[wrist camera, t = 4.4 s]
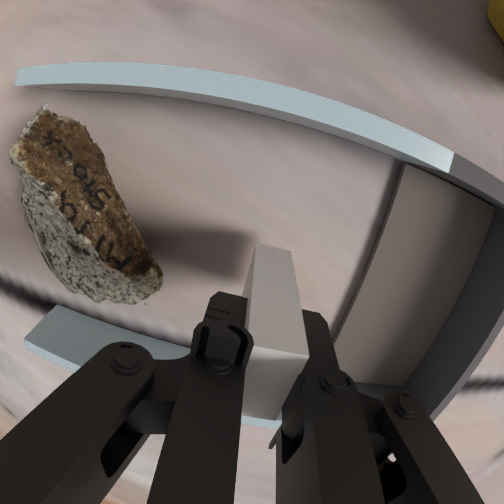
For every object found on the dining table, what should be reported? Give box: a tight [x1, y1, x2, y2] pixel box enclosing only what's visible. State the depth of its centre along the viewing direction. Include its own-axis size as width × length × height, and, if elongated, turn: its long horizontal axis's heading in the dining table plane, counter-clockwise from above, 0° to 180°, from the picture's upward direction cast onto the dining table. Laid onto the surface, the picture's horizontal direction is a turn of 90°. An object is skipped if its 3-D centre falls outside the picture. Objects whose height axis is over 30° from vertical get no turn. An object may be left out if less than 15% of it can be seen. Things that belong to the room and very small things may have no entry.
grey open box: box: [332, 153, 504, 421], centre depth 13 cm, size 8×15×4 cm, turn 166°
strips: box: [14, 62, 454, 429], centre depth 12 cm, size 17×15×4 cm
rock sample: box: [9, 103, 163, 305], centre depth 12 cm, size 10×8×9 cm
